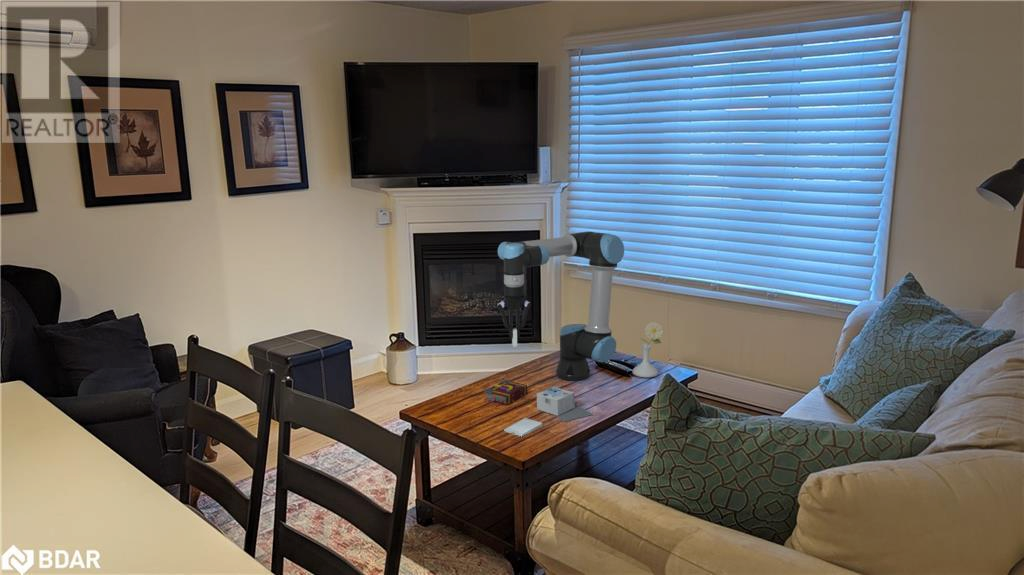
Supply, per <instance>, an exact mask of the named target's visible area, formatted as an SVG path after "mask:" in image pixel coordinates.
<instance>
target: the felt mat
mask: <svg viewBox="0 0 1024 575" xmlns="http://www.w3.org/2000/svg"><path fill="white" fill-rule="evenodd" d="M574 407H575V408H573V409H571V410H569V411H567V412H564V413H562V414H560V415H558V416H557V415H554V414H552V415H553V416H554V417H556V418H557V419H559V420H561V421H563V422H564V423H567V422H571V421H574V420H578V419H582V418H586V417H591V416H594V414H593V413H592V412H590V411H589V410H587V409H585V408H583V407H581V406H579V405H577V404H576V403H574ZM570 420H571V421H570Z"/></svg>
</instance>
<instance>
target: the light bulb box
mask: <svg viewBox="0 0 1024 575" xmlns="http://www.w3.org/2000/svg"><path fill="white" fill-rule="evenodd" d="M574 404H575V392H574V391H570V390H566V389H562V388H560V387H557V386H551V387H550V388H547V389H545V390H543V391H541V392H540V391H539V392H538V393H536V409H537V410H538V411H541V412H545V413H547V414H551V415H553V414H554V415H557V416H558V415H560V414H562V413H564V412H567V411H569V410H571V409H573V408H575V407H574ZM554 415H553V416H554Z"/></svg>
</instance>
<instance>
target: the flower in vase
mask: <svg viewBox="0 0 1024 575" xmlns="http://www.w3.org/2000/svg"><path fill="white" fill-rule="evenodd" d="M645 326H646V327H645V329H644V333H645V336H646V337H647V338H648V339H650V341H649V342H648V341H647V340H644V339H642V338H641V340H642V341H644V342H646V343H643V344H640V348H641V349H642V361H641V362H640V363H639V364H637V365H636V366H635V367H634V368H633V369H632V371H631V372H632V374H633V375H634V376H637V377H640V378H645V379H648V378H654V377H656V376H658V375H659V371H658V369H657V368H656V367H655V366H654V365H653V364H652V363H650V359H649V355H650V351H651V349H652V347H653V345H651V342H653V344H655V345H659V344H662V341H661V340H660V338H662V336H663V335H664V329H663V326H662V324H661V323H658V322H656V321H652V322H650V323H648V324H646V325H645Z"/></svg>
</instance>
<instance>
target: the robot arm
mask: <svg viewBox="0 0 1024 575" xmlns="http://www.w3.org/2000/svg"><path fill="white" fill-rule="evenodd" d="M624 255H625V245H624V243H623V241H622V240H621V238H620V237H619V236H618V235H615V234H611V233H605V232H597V231H596V232H595V231H580V232H573V233H567V234H564V235H563V236H562V237H554V238H553V237H552V238H545V239H544V238H543V239H536V240H535V239H534V240H533V239H532V240H525V241H515V242H514V241H513V242H511V241H503V242H501V243H499V246H498V248H497V256H498V257H499V259H501V260H503V284H504V286H503V296H504V297H503V299H502V301H501V302H498V303H497V307H498V308H499V310H500V315H501V318H502V322H503V325H504V328H506V329H508V330H509V334H508V335H509V338H510V339H511V345H512V347H513V348H514V347H518V338H520V336H521V332H520V331H521V329H522V328H523V329H524V328H525V327H526V326H525V325H526V322H527V317H528V314H529V310H530V307H532V303H531V302H530V301H528V300H526V297H525V286H524V284H525V269H526V268H532V267H538V266H539V267H541V266H542V265H546V264H548V262H549V260H550V258H551V257H552V258H553V257H559V256H560V257H561V256H565V257H567V258H568V257H569V258H572V257H576V258H582V259H587V260H589V261H588V264H589V267H590V268H591V269H592V270H591V272H592V273H591V284H590V295H589V296H590V297H589V307H588V308H589V309H588V324H587V325H586V324H583V323H572V324H566V325H563V326H561V328H560V333H559V352H560V353H559V361H558V364H557V368H556V369H555V376H556V377H557V378H559V380H560V379H561V380H563V381H569V382H579V380H580V381H584V380H587V379H589V378H590V377H591V370H590V366H589V363H588V360H591V361H593V362H599V363H605V362H608V361H609V360H611V359H612V357H613V356H614V354H615V353H616V350H617V341H616V339H615V337H613V336H612V329H611V327H610V326H609V324H610V323H609V322H610V312H611V311H610V310H611V299H612V289H613V288H612V286H613V276H614V275H613V274H614V270H615V269H617V267H618V263H620V262H622V260H623V258H624ZM523 305H524V308H523V312H522V315H521V308H522V307H523ZM505 306H506V308H507V309H508V320H507V316H506V312H505V309H504V308H505ZM514 311H515V327H514Z"/></svg>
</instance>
